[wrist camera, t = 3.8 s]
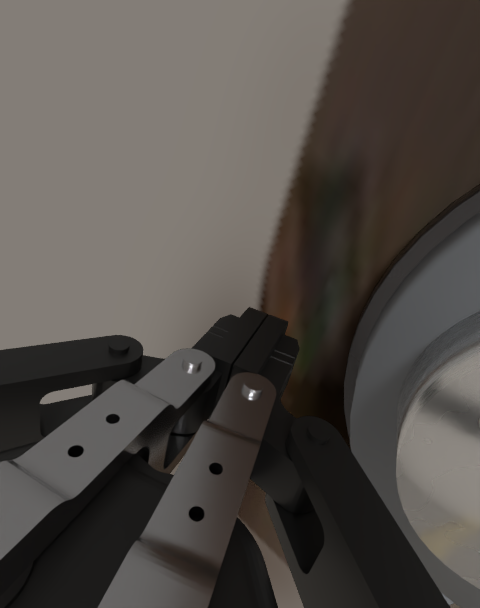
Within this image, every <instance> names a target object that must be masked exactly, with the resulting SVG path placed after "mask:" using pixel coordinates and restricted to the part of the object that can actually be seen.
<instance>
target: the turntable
mask: <svg viewBox="0 0 480 608" xmlns="http://www.w3.org/2000/svg"><path fill="white" fill-rule="evenodd" d="M479 311H480V212H479V213H478V214H476V215H475V216H473V217H472V218H470V219H468V220H467V221H466V222H465V223H463V224H462V225H461V226H460V227H458V228H457V229H456V230H455V231H454V232H452V233H451V234H450V235H449V236H447V237H446V238H445V239H444V240H443V241H441V242H440V243H439V244H438V245H436V246H435V247H434V248H433V249H432V250H431V251H430V252H429V253H428V254H427V255H426V256H425V257H424V258H423V259H422V260H421V261H420V262H419V263H418V264H417V265H416V267H415V268H414V269H413V270H412V271H411V272H410V273H409V274H408V275H407V276H406V277H405V278H404V280H403V281H402V282H401V284H400V285H399V286H398V288H397V289H396V291H395V292H394V293H393V295H392V296H391V297H390V299H389V300H388V301H387V303H386V304H385V306H384V308H383V309H382V311H381V313H380V315H379V317H378V319H377V321H376V322H375V324H374V326H373V328H372V330H371V332H370V334H369V337H368V340H367V342H366V345H365V348H364V351H363V354H362V357H361V359H360V364H359V369H358V375H357V380H356V386H355V392H354V397H353V403H352V409H351V415H350V446H351V452H352V453H353V455H354V456H355V458H356V460H357V461H358V463H359V464H360V466H361V467H362V469H363V471H364V472H365V474H366V475H367V477H368V478H369V480H370V482H371V483H372V485H373V486H374V488H375V489H376V491H377V493H378V494H379V496H380V497H381V499H382V500H383V502H384V504H385V505H386V507H387V508H388V510H389V511H390V513H391V515H392V516H393V518H394V519H395V521H396V523H397V524H398V526H399V527H400V529H401V530H402V532H403V534H404V535H405V537H406V538H407V540H408V541H409V543H410V545H411V546H412V548H413V549H414V551H415V552H416V554H417V556H418V557H419V559H420V560H421V562H422V563H423V565H424V567H425V568H426V570H427V571H428V573H429V574H430V576H431V578H432V579H433V581H434V582H435V584H436V586H437V587H438V589H439V590H440V592H441V593H442V595H443V597H444V598H445V600H446V601H447V603H448V604H449V605H450V604H453V603H455V604H457V605H458V606H460V607H461V608H480V589H479V588H477V587H475V586H474V585H472V584H471V583H469V582H468V581H466V580H464V579H463V578H461V577H460V576H459V575H458V574H456V573H455V572H454V571H452V570H451V569H450V568H448V567H447V566H446V565H445V564H444V563H443V562H442V561H441V560H440V559H438V558H437V557H436V556H435V555H434V554H433V553H432V552H431V551H430V550H429V548H428V547H427V546H426V545H425V544H424V543H423V541H422V540H421V539H420V538H419V536H418V535H417V533H416V532H415V530H414V529H413V527H412V526H411V524H410V522H409V520H408V518H407V516H406V514H405V512H404V510H403V507H402V504H401V501H400V497H399V494H398V487H397V479H396V452H397V408H398V399H399V395H400V391H401V387H402V385H403V383H404V380H405V378H406V376H407V373H408V372H409V370H410V368H411V367H412V365H413V364H414V362H415V361H416V359H417V358H418V357H419V356H420V354H421V353H422V352H423V351H424V350H425V349H426V347H427V346H428V345H429V344H431V343H432V342H433V341H434V340H435V339H436V338H437V337H438V336H440V335H441V334H442V333H443V332H445V331H446V330H448V329H449V328H451V327H452V326H454V325H455V324H457V323H458V322H459V321H461V320H463V319H465V318H467V317H469V316H471V315H473V314H475V313H477V312H479Z"/></svg>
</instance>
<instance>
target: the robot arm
mask: <svg viewBox="0 0 480 608" xmlns="http://www.w3.org/2000/svg"><path fill="white" fill-rule="evenodd" d="M287 326H288V321H285V320H282V319H280V318H277V317H274V316H272V315H268V314H266V313H264V312H261V311H258V310H256V309H253V308H250V307H249V308H248V309H247V310H246V311H245V312H244V313H243V314H242V316H241V317H240V318H239V317H236V316H234V315H228V316H225V317H222V318H220V319H219V320H218V321H217V322H216V323H215V324H214V326H213V327H211V328H210V330H209V331H208V332H207V333H206V334H205V335H204V336H203V337H202V338H201V339H200V340H199V341H198V342H197V343H196V344H195V346H193V347H192V348H191V349H188V348H187V349H180V350H177V351H175V352H173V353H172V354H171V355H170V356H168V357H167V358H166V359H160V358H155V357H149V356H143V347H142V345H141V343H140V342H138V341H137V340H136V339H134V338H131V337H128V336H122V335H113V336H105V337H97V338H89V339H82V340H74V341H66V342H59V343H51V344H45V345H36V346H29V347H21V348H13V349H6V350H0V608H278V606H277V603H276V599H275V596H274V592H273V589H272V585H271V582H270V578H269V575H268V572H267V568H266V565H265V562H264V559H263V556H262V553H261V551H260V549H259V547H258V545H257V543H256V541H255V539H254V537H253V536H252V534H251V533H250V532H249V530H248V529H247V528H246V526H245V525H244V524H243V523H242V522H241V521H240V519H239V518H238V517H237V516H238V512H239V509H240V506H241V503H242V500H243V497H244V494H245V491H246V488H247V485H248V482H249V479H251V480H252V481H253V482H255V483H256V484H257V485H258V486H259V487H260V488H261V489H262V490H263V491H265V492H266V497H265V500H266V505H267V508H268V511H269V514H270V517H271V519H272V522H273V525H274V527H275V530H276V533H277V535H278V538H279V541H280V544H281V546H282V549H283V552H284V554H285V557H286V560H287V563H288V565H289V568H290V571H291V573H292V576H293V578H294V581H295V584H296V587H297V590H298V592H299V595H300V598H301V600H302V603H303V606H304V608H450V606H449V604H448V603H447V601H446V600H445V598H444V597H443V595H442V593H441V592H440V590H439V589H438V587H437V586H436V584H435V582H434V581H433V579H432V578H431V576H430V574H429V573H428V571H427V570H426V568H425V567H424V565H423V563H422V562H421V560H420V559H419V557H418V556H417V554H416V552H415V551H414V549H413V548H412V546H411V545H410V543H409V541H408V540H407V538H406V537H405V535H404V534H403V532H402V530H401V529H400V527H399V526H398V524H397V523H396V521H395V519H394V518H393V516H392V515H391V513H390V511H389V510H388V508H387V507H386V505H385V504H384V502H383V500H382V499H381V497H380V496H379V494H378V493H377V491H376V489H375V488H374V486H373V485H372V483H371V482H370V480H369V478H368V477H367V475H366V474H365V472H364V471H363V469H362V467H361V466H360V464H359V463H358V461H357V460H356V458H355V456H354V455H353V453H352V452H351V450H350V448H349V447H348V445H347V444H346V442H345V441H344V439H343V437H342V436H341V434H340V433H339V432H338V430H337V429H336V428H335V427H334V426H333V425H331V424H330V423H328V422H327V421H325V420H323V419H320V418H318V417H313V416H303V417H300V418H298V419H296V418H295V417H294V416H292V415H291V414H290V413H289V412H288V411H287V410H286V409H285V408H284V406H283V405H282V403H281V400H280V399H281V397H282V394H283V392H284V390H285V388H286V385H287V383H288V380H289V377H290V375H291V372H292V369H293V366H294V363H295V360H296V357H297V355H298V352H299V346H298V342H297V340H296V339H294V338H291V337H289V336H286V335H285V332H286V329H287ZM89 384H92V395H88V396H84V397H79V398H74V399H69V400H64V401H60V402H55V403H50V404H39V403H40V400H41V399H42V397H44V396H45V395H46V394H48V393H50V392H53V391H58V390H63V389H69V388H74V387H79V386H84V385H89ZM207 419H209V421H207ZM184 455H185V456H184ZM183 456H184V458H183ZM182 458H183V460H182V461H181V463H180V465H179V467H178V469H177V471H176V473H175V474H174V475H171V474H170V473H171V472H172V470H173V469H174V468H175V466H176V465H177V464H178V463H179V462H180V460H181V459H182Z"/></svg>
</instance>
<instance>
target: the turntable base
mask: <svg viewBox="0 0 480 608" xmlns="http://www.w3.org/2000/svg"><path fill="white" fill-rule="evenodd" d="M479 212H480V184H479V185H478V186H476V187H475V188H473V189H472V190H471V191H469V192H468V193H466V194H465V195H463V196H462V197H460V198H459V199H457V200H456V201H454V202H453V203H452V204H451V205H449V206H448V207H447V208H446V209H445V210H444V211H443V212H441V213H440V214H439V215H438V216H437V217H436V218H434V219H433V220H432V221H431V222H430V223H429V224H427V225H426V226H425V227H424V228H423V229H422V230H420V232H419V233H418V234H417V235H416V236H415V237H414V238H413V239H412V240H411V241H410V243H409V244H408V245H407V246H406V247H405V248H404V249H403V250H402V251H401V252H400V253H399V255H398V256H397V257H396V258H395V259H394V260H393V262H392V263H391V265H390V266H389V268H388V269H387V270H386V272H385V273H384V275H383V276H382V278H381V279H380V280H379V282H378V283H377V285H376V286H375V288H374V290H373V292H372V294H371V296H370V298H369V300H368V302H367V304H366V306H365V308H364V309H363V311H362V313H361V316H360V319H359V322H358V325H357V328H356V331H355V334H354V337H353V340H352V343H351V347H350V352H349V357H348V363H347V369H346V375H345V381H344V411H345V418H346V424H347V430H348V435H349V439H350V415H351V409H352V403H353V397H354V392H355V386H356V380H357V375H358V369H359V364H360V359H361V357H362V354H363V351H364V348H365V345H366V342H367V340H368V337H369V334H370V332H371V330H372V328H373V326H374V324H375V322H376V321H377V319H378V317H379V315H380V313H381V311H382V309H383V308H384V306H385V304H386V303H387V301H388V300H389V299H390V297H391V296H392V295H393V293H394V292H395V291H396V289H397V288H398V286H399V285H400V284H401V282H402V281H403V280H404V278H405V277H406V276H407V275H408V274H409V273H410V272H411V271H412V270H413V269H414V268H415V267H416V265H417V264H418V263H419V262H420V261H421V260H422V259H423V258H424V257H425V256H426V255H427V254H428V253H429V252H430V251H431V250H432V249H433V248H434V247H435V246H436V245H438V244H439V243H440V242H441V241H443V240H444V239H445V238H446V237H447V236H449V235H450V234H451V233H452V232H454V231H455V230H456V229H457V228H458V227H460V226H461V225H462V224H463V223H465V222H466V221H467V220H468V219H470V218H472V217H473V216H475V215H476V214H478V213H479Z"/></svg>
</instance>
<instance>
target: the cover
mask: <svg viewBox="0 0 480 608" xmlns="http://www.w3.org/2000/svg"><path fill="white" fill-rule="evenodd" d="M396 479H397V487H398V494H399V497H400V501H401V504H402V507H403V510H404V512H405V514H406V516H407V518H408V520H409V522H410V524H411V526H412V527H413V529H414V530H415V532H416V533H417V535H418V536H419V538H420V539H421V540H422V541H423V543H424V544H425V545H426V546H427V547H428V548H429V550H430V551H431V552H432V553H433V554H434V555H435V556H436V557H437V558H438V559H440V560H441V561H442V562H443V563H444V564H445V565H446V566H447V567H448V568H450V569H451V570H452V571H454V572H455V573H456V574H458V575H459V576H460V577H461V578H463V579H464V580H466V581H468V582H469V583H471V584H472V585H474V586H475V587H477V588H479V589H480V311H479V312H477V313H475V314H473V315H471V316H469V317H467V318H465V319H463V320H461V321H459V322H458V323H457V324H455V325H454V326H452V327H451V328H449V329H448V330H446V331H445V332H443V333H442V334H441V335H440V336H438V337H437V338H436V339H435V340H434V341H433V342H432V343H431V344H429V345H428V346H427V347H426V349H425V350H424V351H423V352H422V353H421V354H420V356H419V357H418V358H417V359H416V361H415V362H414V364H413V365H412V367H411V368H410V370H409V372H408V373H407V376H406V378H405V380H404V383H403V385H402V387H401V391H400V395H399V399H398V408H397V452H396Z"/></svg>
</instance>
